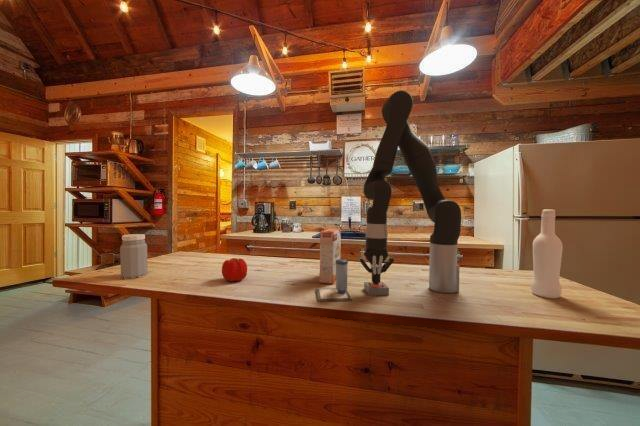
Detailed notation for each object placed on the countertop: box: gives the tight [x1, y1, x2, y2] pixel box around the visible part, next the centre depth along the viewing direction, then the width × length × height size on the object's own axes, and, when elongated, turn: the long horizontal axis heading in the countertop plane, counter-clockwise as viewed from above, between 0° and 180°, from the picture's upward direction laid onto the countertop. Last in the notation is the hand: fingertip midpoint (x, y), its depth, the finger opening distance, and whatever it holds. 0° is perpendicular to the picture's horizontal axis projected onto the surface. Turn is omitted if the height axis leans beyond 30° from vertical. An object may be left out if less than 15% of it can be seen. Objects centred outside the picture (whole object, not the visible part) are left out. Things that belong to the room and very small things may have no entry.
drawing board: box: [315, 287, 353, 303], centre depth 90 cm, size 11×11×1 cm
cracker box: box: [319, 228, 342, 285], centre depth 109 cm, size 14×6×21 cm, turn 163°
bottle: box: [530, 208, 564, 299], centre depth 90 cm, size 8×8×30 cm
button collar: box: [363, 281, 390, 297], centre depth 94 cm, size 7×7×2 cm
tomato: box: [221, 257, 248, 283], centre depth 107 cm, size 11×11×9 cm
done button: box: [370, 281, 382, 287], centre depth 93 cm, size 4×4×2 cm
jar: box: [119, 233, 149, 279], centre depth 113 cm, size 10×10×18 cm
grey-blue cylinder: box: [335, 258, 349, 294], centre depth 90 cm, size 4×4×11 cm
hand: (375, 283), depth 93 cm, fingers closed
